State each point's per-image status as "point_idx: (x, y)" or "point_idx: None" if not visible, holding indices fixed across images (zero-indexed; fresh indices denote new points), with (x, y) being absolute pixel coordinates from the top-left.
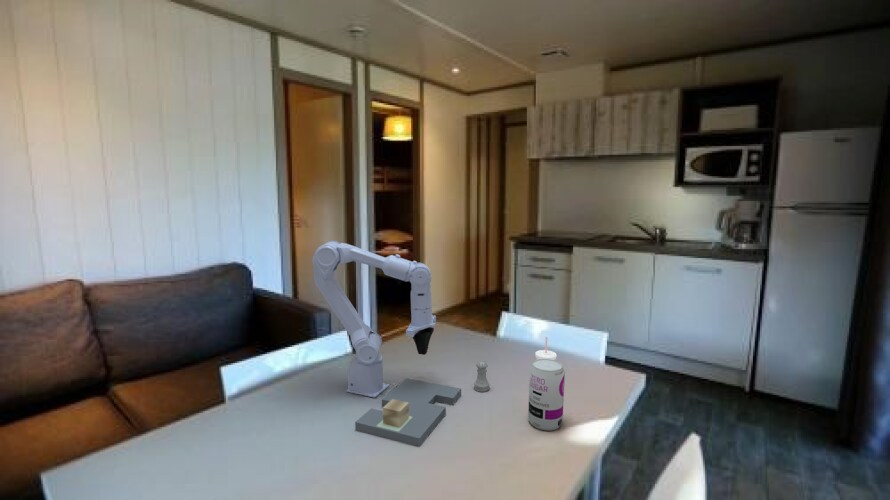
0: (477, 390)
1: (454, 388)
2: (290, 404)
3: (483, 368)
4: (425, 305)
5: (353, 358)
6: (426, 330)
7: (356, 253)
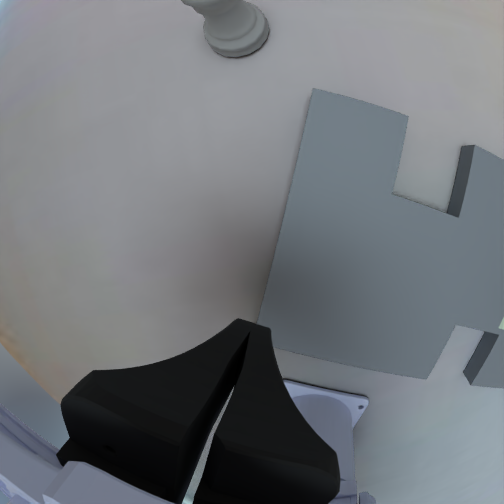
0: (263, 41)
1: (319, 116)
2: (381, 501)
3: None
4: None
5: None
6: (178, 475)
7: None
